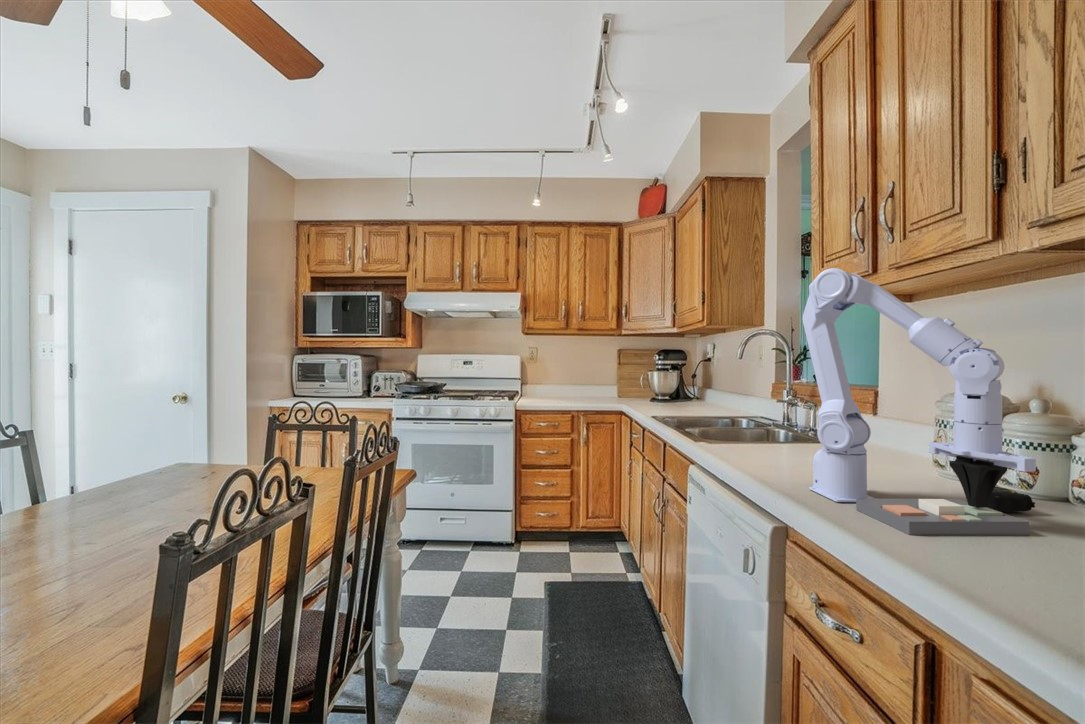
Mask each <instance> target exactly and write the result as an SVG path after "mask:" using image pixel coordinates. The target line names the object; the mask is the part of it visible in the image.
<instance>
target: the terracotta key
mask: <svg viewBox="0 0 1085 724" xmlns="http://www.w3.org/2000/svg"><path fill="white" fill-rule="evenodd" d="M882 508H883V509H886V510H888V511H890V512H893V513H895V514H897V515H900V516H926V512H923V511H921V510H918V509H915V508H913V507H910V506H908V505H882Z"/></svg>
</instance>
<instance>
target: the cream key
mask: <svg viewBox="0 0 1085 724" xmlns="http://www.w3.org/2000/svg"><path fill="white" fill-rule="evenodd" d="M918 499H919V508H920V509H922V510H925V511H928V512H930V513H933V514H935V515H938V516H941V515H954V516H957V515H965V509H964V506H962V505H959V504H956V503H953V502H950V501H947V500H944V499H945V498H918Z"/></svg>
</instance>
